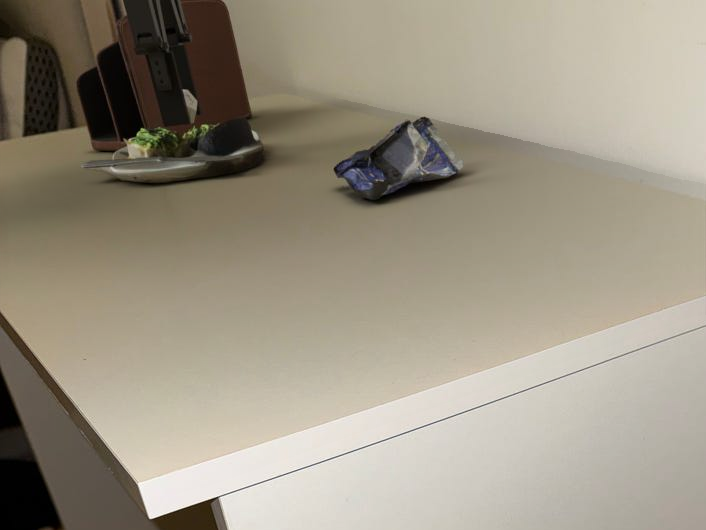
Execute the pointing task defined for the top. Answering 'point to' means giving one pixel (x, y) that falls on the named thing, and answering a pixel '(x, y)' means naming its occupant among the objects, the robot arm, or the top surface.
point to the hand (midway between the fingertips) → (183, 119)
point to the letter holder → (137, 88)
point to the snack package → (399, 160)
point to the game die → (190, 105)
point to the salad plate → (184, 153)
